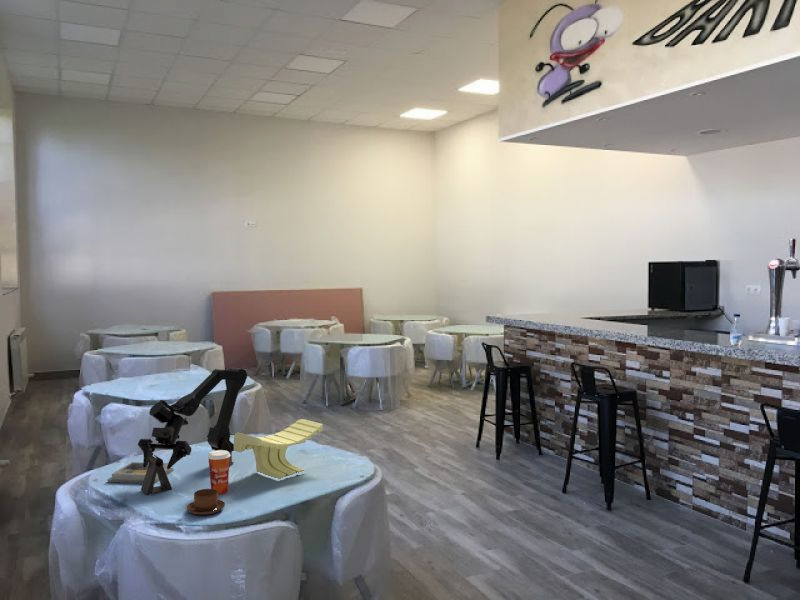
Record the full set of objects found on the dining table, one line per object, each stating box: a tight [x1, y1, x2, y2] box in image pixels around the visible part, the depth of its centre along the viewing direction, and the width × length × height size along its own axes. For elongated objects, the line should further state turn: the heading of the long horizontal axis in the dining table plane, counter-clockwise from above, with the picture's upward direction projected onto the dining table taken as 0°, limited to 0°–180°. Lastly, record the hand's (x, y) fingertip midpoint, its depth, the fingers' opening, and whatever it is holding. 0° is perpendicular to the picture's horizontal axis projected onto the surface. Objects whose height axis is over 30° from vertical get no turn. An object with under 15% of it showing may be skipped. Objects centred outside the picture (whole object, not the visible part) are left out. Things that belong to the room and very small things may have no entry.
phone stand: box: [140, 454, 173, 496], centre depth 237 cm, size 9×6×12 cm, turn 130°
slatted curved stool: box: [233, 418, 324, 479], centre depth 257 cm, size 30×16×18 cm, turn 136°
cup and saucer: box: [186, 488, 226, 516], centre depth 218 cm, size 12×12×6 cm
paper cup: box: [207, 450, 231, 496], centre depth 236 cm, size 8×8×14 cm
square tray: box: [106, 461, 174, 485], centre depth 253 cm, size 18×16×3 cm
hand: (155, 467), depth 238 cm, fingers open, 9 cm apart
